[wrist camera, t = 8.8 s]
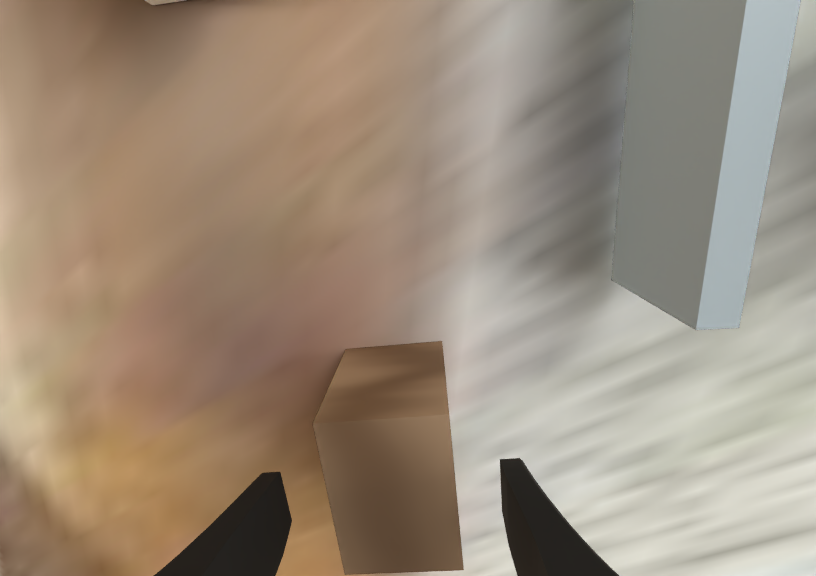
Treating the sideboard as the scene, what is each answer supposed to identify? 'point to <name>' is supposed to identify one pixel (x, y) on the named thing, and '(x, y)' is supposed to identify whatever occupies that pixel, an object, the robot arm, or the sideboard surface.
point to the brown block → (390, 460)
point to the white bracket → (161, 1)
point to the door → (698, 151)
